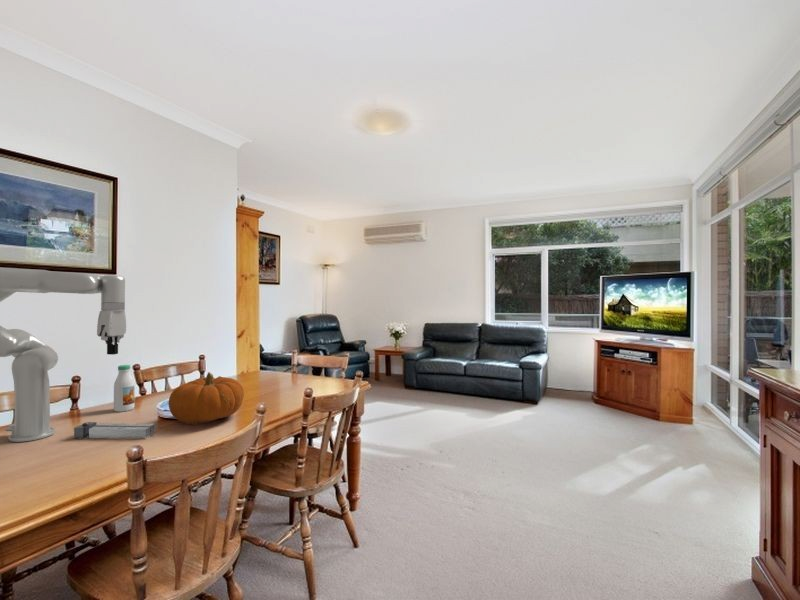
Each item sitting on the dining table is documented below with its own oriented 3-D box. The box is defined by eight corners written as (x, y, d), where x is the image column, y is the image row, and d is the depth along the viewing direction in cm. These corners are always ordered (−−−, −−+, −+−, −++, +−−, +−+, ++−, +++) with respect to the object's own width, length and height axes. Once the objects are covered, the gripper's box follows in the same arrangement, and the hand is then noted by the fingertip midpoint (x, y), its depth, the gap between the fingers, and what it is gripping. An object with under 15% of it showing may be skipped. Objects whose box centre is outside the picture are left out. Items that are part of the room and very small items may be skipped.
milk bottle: (114, 413, 174) (114, 367, 174) (112, 409, 180) (112, 365, 180) (135, 410, 180) (135, 365, 179) (133, 406, 185) (133, 363, 185)
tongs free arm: (95, 434, 147) (95, 425, 147) (100, 432, 150) (100, 423, 150) (150, 435, 147) (150, 425, 147) (154, 433, 149) (154, 423, 149)
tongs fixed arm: (74, 438, 144) (74, 426, 144) (88, 432, 150) (88, 420, 150) (144, 439, 144) (144, 426, 144) (155, 433, 150) (155, 421, 150)
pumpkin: (237, 406, 186) (237, 364, 186) (250, 423, 163) (250, 374, 163) (167, 416, 171) (167, 369, 171) (170, 435, 148) (170, 382, 148)
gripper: (117, 306, 163) (116, 351, 163) (88, 307, 148) (87, 356, 148) (135, 306, 163) (134, 351, 163) (108, 307, 148) (107, 357, 148)
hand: (112, 354), depth 155 cm, fingers closed
